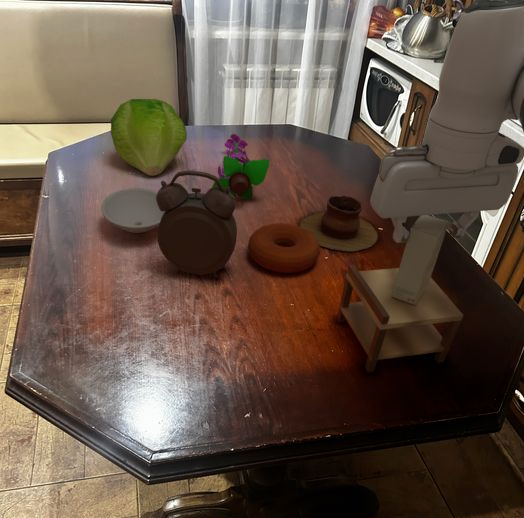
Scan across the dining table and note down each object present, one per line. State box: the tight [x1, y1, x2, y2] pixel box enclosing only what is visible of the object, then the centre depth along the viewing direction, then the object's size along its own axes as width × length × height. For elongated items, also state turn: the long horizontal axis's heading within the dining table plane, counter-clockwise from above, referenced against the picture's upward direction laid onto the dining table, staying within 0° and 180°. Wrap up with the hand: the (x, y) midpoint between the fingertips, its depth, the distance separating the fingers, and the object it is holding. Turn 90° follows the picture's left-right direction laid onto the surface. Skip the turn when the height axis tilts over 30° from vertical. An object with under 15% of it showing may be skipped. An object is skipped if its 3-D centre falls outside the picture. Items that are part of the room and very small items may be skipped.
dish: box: [100, 187, 165, 234], centre depth 109 cm, size 18×14×5 cm
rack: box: [336, 264, 464, 373], centre depth 85 cm, size 14×14×12 cm
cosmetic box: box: [391, 215, 450, 305], centre depth 79 cm, size 6×4×12 cm
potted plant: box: [211, 133, 270, 200], centre depth 131 cm, size 12×16×35 cm
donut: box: [247, 223, 321, 274], centre depth 105 cm, size 15×15×5 cm
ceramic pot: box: [299, 195, 379, 252], centre depth 114 cm, size 18×18×7 cm
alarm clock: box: [156, 170, 238, 279], centre depth 94 cm, size 15×7×20 cm, turn 83°
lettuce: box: [110, 98, 188, 177], centre depth 131 cm, size 17×20×17 cm
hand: (427, 238), depth 76 cm, fingers open, 8 cm apart
